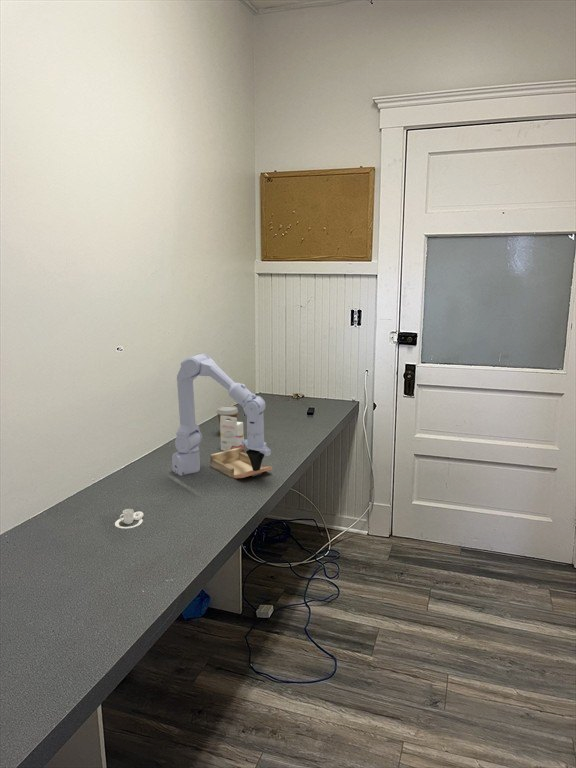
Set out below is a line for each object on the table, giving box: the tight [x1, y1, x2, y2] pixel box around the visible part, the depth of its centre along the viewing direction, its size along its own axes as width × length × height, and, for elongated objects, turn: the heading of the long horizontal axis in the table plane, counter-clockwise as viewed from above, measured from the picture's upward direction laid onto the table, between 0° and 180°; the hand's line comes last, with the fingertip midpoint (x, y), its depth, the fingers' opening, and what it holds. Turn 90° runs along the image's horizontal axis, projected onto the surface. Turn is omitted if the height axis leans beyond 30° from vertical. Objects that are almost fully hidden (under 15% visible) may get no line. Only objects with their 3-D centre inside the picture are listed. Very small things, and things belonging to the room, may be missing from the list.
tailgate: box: [233, 466, 273, 479], centre depth 197 cm, size 13×2×6 cm
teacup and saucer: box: [114, 508, 145, 530], centre depth 166 cm, size 9×8×4 cm
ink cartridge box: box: [219, 415, 245, 452], centre depth 227 cm, size 9×5×15 cm, turn 62°
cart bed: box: [209, 447, 263, 478], centre depth 205 cm, size 13×14×6 cm
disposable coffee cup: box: [216, 405, 239, 425], centre depth 248 cm, size 10×10×12 cm
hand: (256, 470), depth 195 cm, fingers closed
